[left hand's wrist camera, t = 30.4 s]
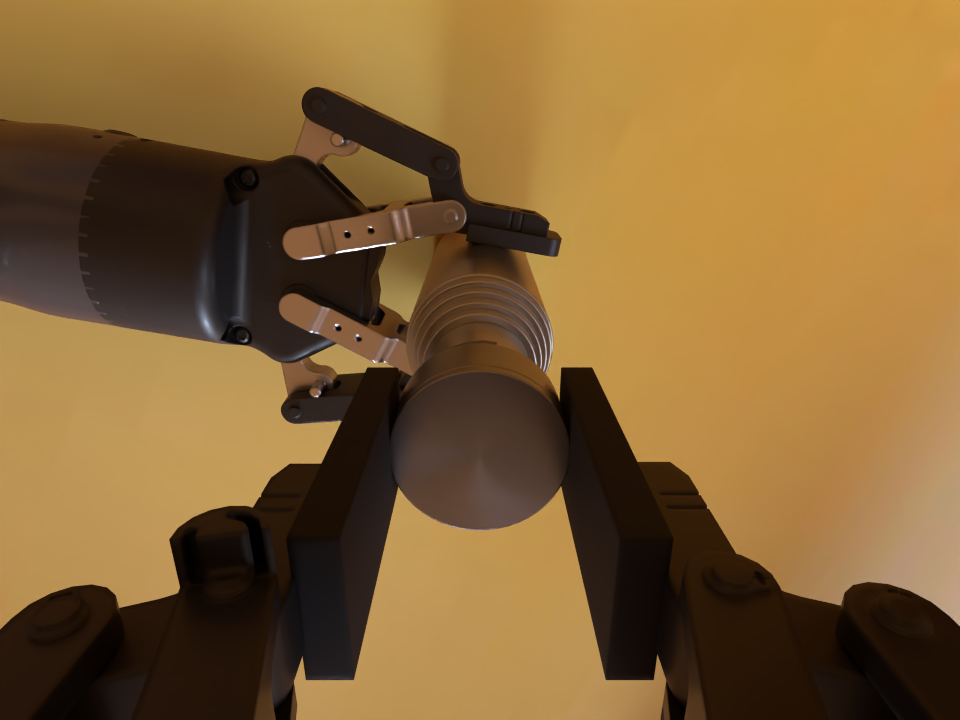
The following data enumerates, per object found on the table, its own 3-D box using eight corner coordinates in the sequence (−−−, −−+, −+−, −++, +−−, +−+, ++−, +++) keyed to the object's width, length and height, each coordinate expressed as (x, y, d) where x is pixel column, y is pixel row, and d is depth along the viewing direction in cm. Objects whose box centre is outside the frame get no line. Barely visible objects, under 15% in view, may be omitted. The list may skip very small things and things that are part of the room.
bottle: (415, 253, 30) (346, 387, 15) (490, 197, 29) (502, 277, 14) (469, 324, 32) (459, 516, 16) (543, 273, 31) (609, 426, 15)
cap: (590, 438, 15) (604, 476, 13) (459, 513, 16) (457, 557, 14) (502, 310, 14) (505, 335, 12) (365, 399, 15) (350, 433, 13)
